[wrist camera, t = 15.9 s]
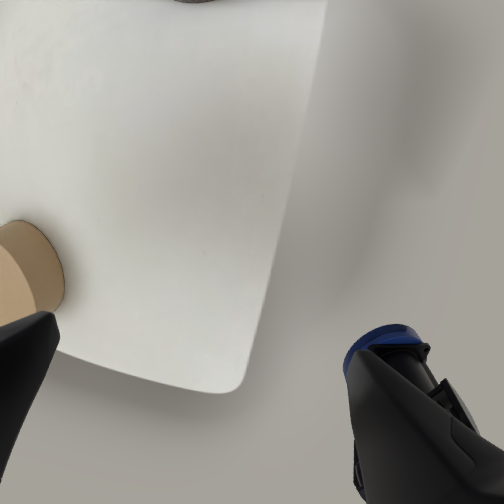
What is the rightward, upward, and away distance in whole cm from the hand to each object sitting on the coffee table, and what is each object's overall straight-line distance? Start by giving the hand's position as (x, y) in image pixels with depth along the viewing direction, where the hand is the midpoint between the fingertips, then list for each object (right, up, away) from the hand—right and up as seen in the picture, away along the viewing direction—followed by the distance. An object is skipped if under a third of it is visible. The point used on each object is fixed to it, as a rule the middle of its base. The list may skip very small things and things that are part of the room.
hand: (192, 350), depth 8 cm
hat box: (-19, +1, +14) cm, 23 cm away
